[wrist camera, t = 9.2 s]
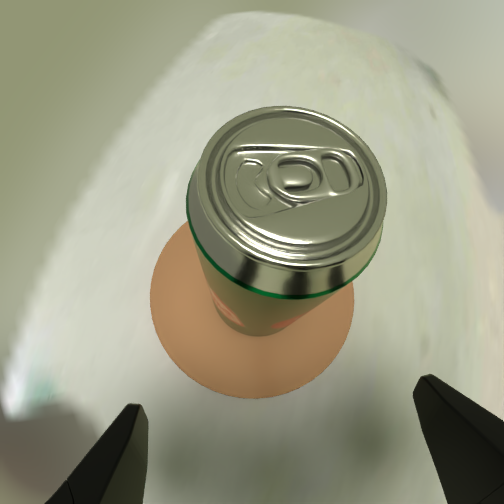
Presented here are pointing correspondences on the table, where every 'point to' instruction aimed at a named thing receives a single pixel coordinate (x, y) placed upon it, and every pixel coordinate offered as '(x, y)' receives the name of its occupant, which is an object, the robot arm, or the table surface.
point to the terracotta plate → (232, 342)
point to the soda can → (283, 215)
